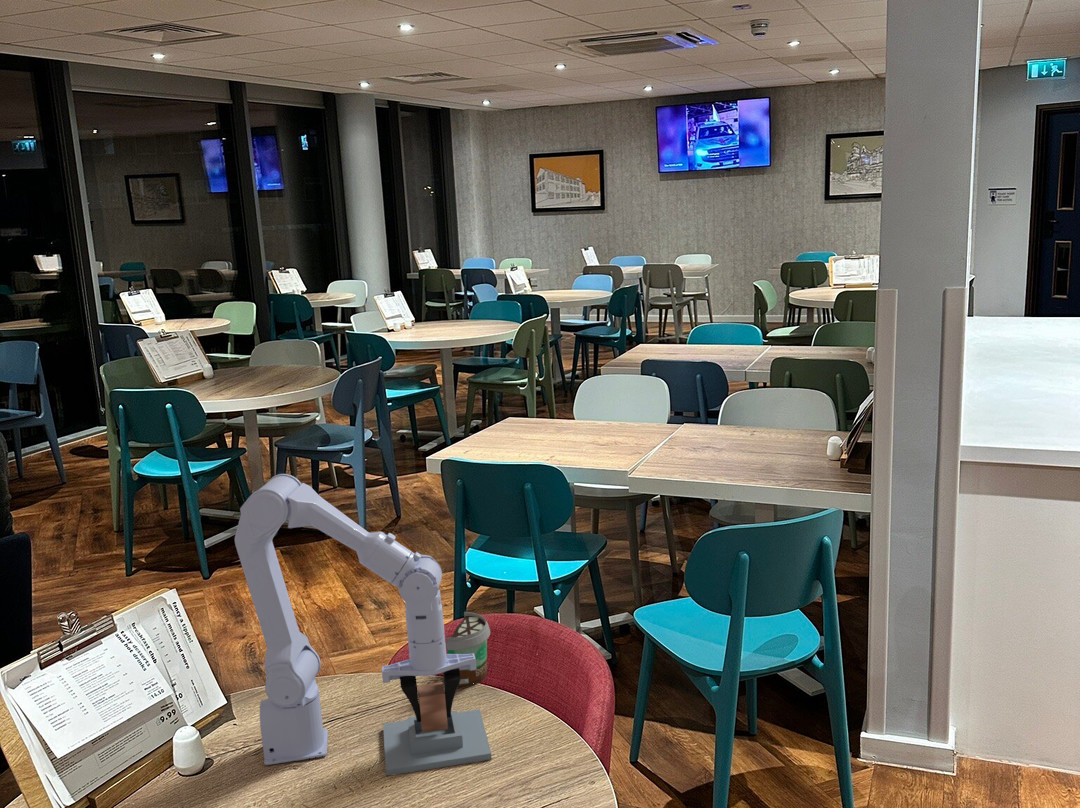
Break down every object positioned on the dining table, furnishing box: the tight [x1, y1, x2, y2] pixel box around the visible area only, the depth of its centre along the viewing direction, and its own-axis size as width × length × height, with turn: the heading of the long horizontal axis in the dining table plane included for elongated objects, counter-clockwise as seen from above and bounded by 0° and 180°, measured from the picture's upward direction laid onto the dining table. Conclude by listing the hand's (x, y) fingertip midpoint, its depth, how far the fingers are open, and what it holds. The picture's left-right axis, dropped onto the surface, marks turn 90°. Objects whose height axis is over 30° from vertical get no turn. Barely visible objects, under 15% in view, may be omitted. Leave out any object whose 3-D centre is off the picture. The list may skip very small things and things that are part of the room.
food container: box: [445, 611, 491, 689], centre depth 172 cm, size 12×6×10 cm, turn 168°
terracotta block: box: [417, 681, 448, 733], centre depth 151 cm, size 4×4×6 cm
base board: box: [382, 709, 493, 776], centre depth 151 cm, size 16×14×3 cm
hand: (433, 716), depth 151 cm, fingers closed on terracotta block, 4 cm apart
